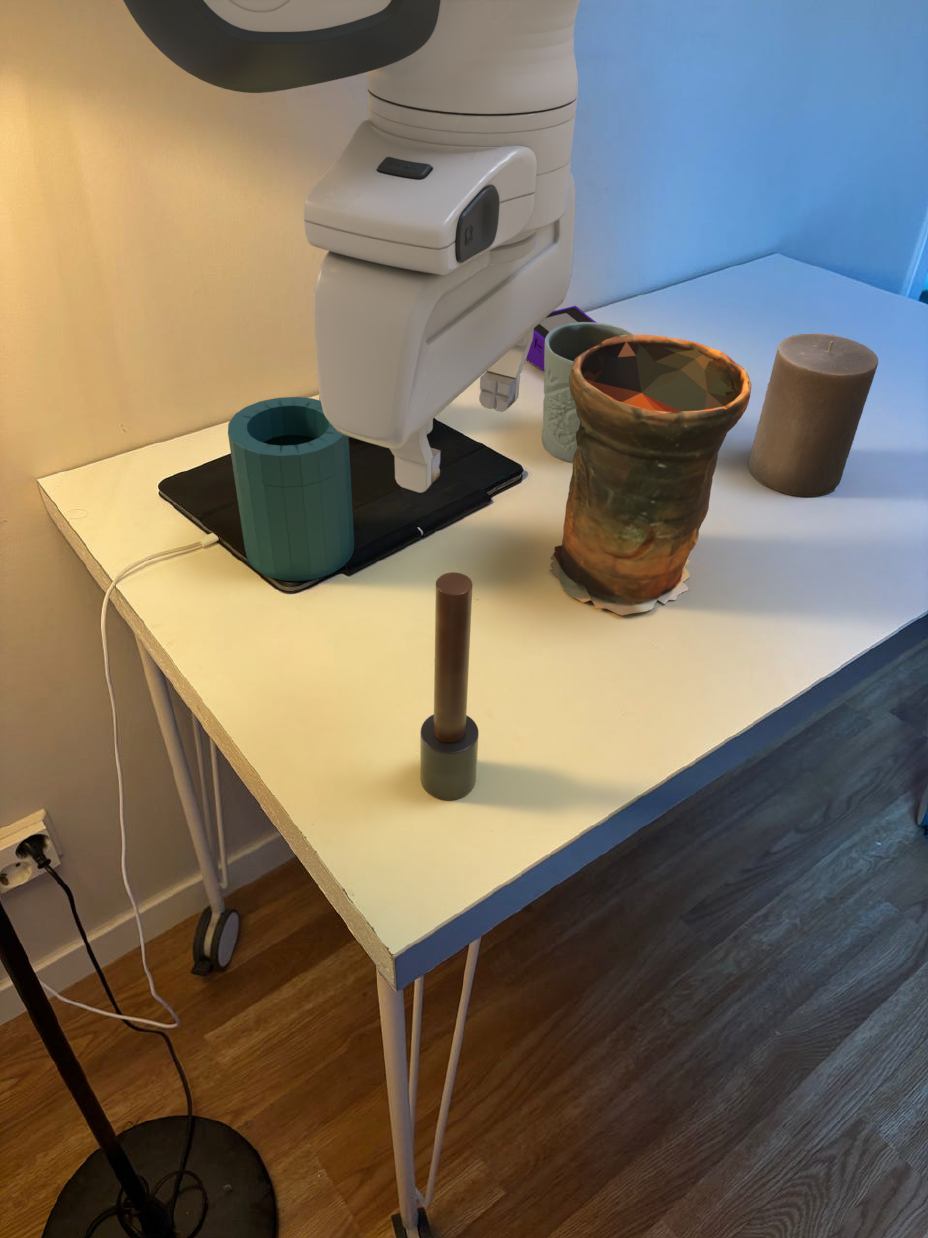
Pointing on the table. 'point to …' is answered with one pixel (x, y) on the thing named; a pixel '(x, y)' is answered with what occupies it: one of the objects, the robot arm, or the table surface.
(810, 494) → the pillar candle
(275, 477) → the container
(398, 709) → the table surface
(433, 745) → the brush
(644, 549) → the vessel
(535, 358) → the handheld gaming console
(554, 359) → the green embossed cup
